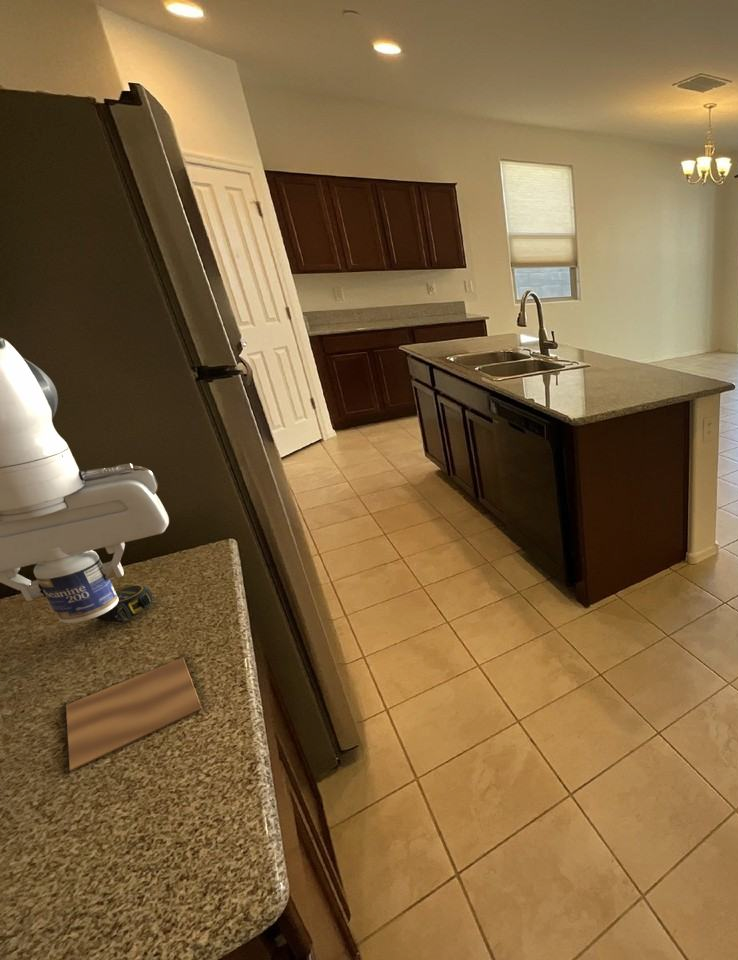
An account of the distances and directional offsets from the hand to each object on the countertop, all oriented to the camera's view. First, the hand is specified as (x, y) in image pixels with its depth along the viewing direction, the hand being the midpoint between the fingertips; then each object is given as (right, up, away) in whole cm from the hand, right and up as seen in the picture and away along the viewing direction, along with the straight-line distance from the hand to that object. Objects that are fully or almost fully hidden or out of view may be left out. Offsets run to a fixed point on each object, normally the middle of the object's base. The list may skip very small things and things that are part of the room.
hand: (77, 586), depth 63 cm
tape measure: (-16, -10, +22) cm, 29 cm away
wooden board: (+3, -17, +4) cm, 17 cm away
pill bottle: (0, -3, +2) cm, 4 cm away
